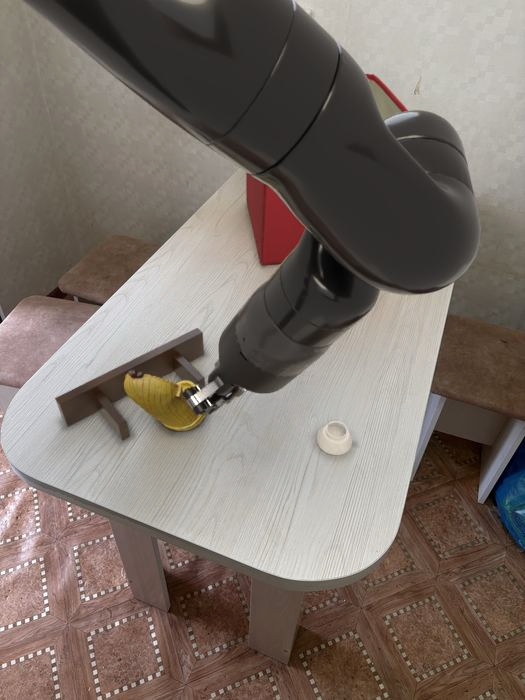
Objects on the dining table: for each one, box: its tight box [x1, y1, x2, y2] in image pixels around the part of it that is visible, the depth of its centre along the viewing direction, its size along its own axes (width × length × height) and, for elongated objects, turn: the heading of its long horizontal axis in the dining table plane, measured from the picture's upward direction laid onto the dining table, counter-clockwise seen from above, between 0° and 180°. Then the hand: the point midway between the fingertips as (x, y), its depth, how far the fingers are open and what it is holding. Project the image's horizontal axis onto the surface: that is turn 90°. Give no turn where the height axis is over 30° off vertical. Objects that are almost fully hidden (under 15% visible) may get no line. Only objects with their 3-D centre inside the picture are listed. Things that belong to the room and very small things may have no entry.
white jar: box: [316, 420, 353, 456], centre depth 71 cm, size 5×3×5 cm
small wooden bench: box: [54, 327, 206, 441], centre depth 75 cm, size 24×8×5 cm, turn 131°
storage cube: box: [245, 73, 409, 266], centre depth 105 cm, size 32×28×29 cm
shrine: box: [124, 370, 207, 432], centre depth 68 cm, size 12×8×15 cm
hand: (207, 404), depth 56 cm, fingers closed
